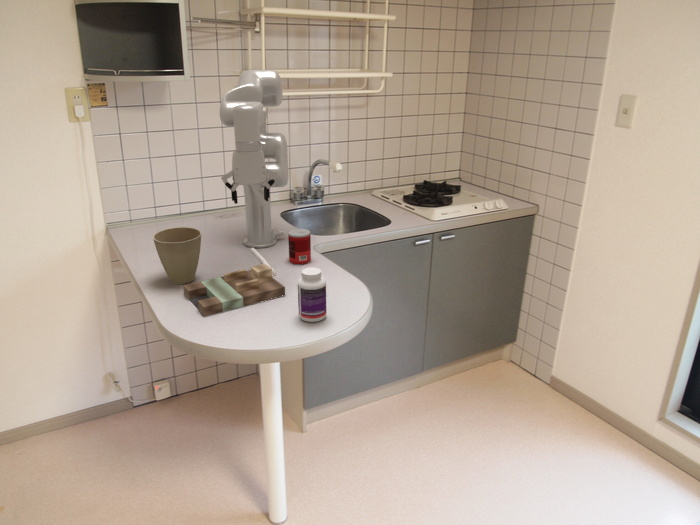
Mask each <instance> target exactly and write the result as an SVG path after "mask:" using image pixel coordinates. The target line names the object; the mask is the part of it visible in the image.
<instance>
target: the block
mask: <svg viewBox="0 0 700 525" xmlns="http://www.w3.org/2000/svg"><path fill="white" fill-rule="evenodd" d="M270 267H271V266H270ZM270 267H269V266H267V265H266V264H262V263H261V264H258V265H254V266H250V270H251V279H253V280H254V279H258V280H259V284H260V283H264V282H268V281H272V280H273V279H272V278H273V276H272V268H273V267H271V268H270Z"/></svg>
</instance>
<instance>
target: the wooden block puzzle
mask: <svg viewBox="0 0 700 525" xmlns="http://www.w3.org/2000/svg"><path fill="white" fill-rule="evenodd" d="M272 279H273V280H272V281H268V282H264V283H260V284H259V280H258V279H254V280H253V279H251V269H250V270H246V269H239V270H236V271H231V272H227V273H224V274H223V276H218V277H214V278H209V279H205V280H201V281H196V282H190V283H186V284H182V285H183V293H184V295H185V296H186V298H188V300H189V301H190V302H191V303H192V304H193V306H195V307H196V309H197V310H198V311H199V312H200V313H201V314H202V315H203V316H204V317H208V316H211V315H215V314H219V313H224V312H227V311H231V310H234V309H240V308H242V307H247V306H250V305H255V304H258V302H259V303H262V302H261V301H263V302H266V301H265V300H267V301H269V300H268V299H270V300H272V299H271V298H274V299H276V298H275V297H278V298H280V297H279V296H282V295H285V296H286V287H285V286H284V285H283V284H282V283H280V282H279V281H278V280H276V279H275V277H272ZM282 297H283V296H282ZM254 303H255V304H254Z"/></svg>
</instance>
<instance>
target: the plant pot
mask: <svg viewBox="0 0 700 525" xmlns="http://www.w3.org/2000/svg"><path fill="white" fill-rule="evenodd" d="M152 240H153V243H154V247H155V250H156V252H157V255H158V258H159V260H160V263H161V265H162V267H163V269H164V271H165V273H166V275H167V277H168V279H169V281H170V282H171V283H173V284H176V285H187V284H190V283H192V282H193V281H194V280H195V277H196V273H197V269H198V265H199V261H200V260H199V259H200V256H201V255H200V254H201V246H202V244H201V242H202V231H201V230H200V229H198V228H195V227H189V226H178V227H176V226H175V227H170V228H165V229H162V230H159V231H157V232H156V233H154V234H153V236H152Z"/></svg>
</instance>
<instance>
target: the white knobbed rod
mask: <svg viewBox="0 0 700 525" xmlns="http://www.w3.org/2000/svg"><path fill="white" fill-rule="evenodd" d="M250 252H252V254H253V253H254V254H253V255H254V257H256V259H257V258H258V259H257V260H258V261H259V262H260V263H261V262H262V263H261V265H262V264H266V265H267V266H269V267H270V268H272V275H276V276H277V271H275V269H274V268H273V267H271V265H270V263H268V261H267V260H266V259H265V258H264V256H262V255H261V254H260V253H259V252H258V251H257V250H256V248H252V247H250Z"/></svg>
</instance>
